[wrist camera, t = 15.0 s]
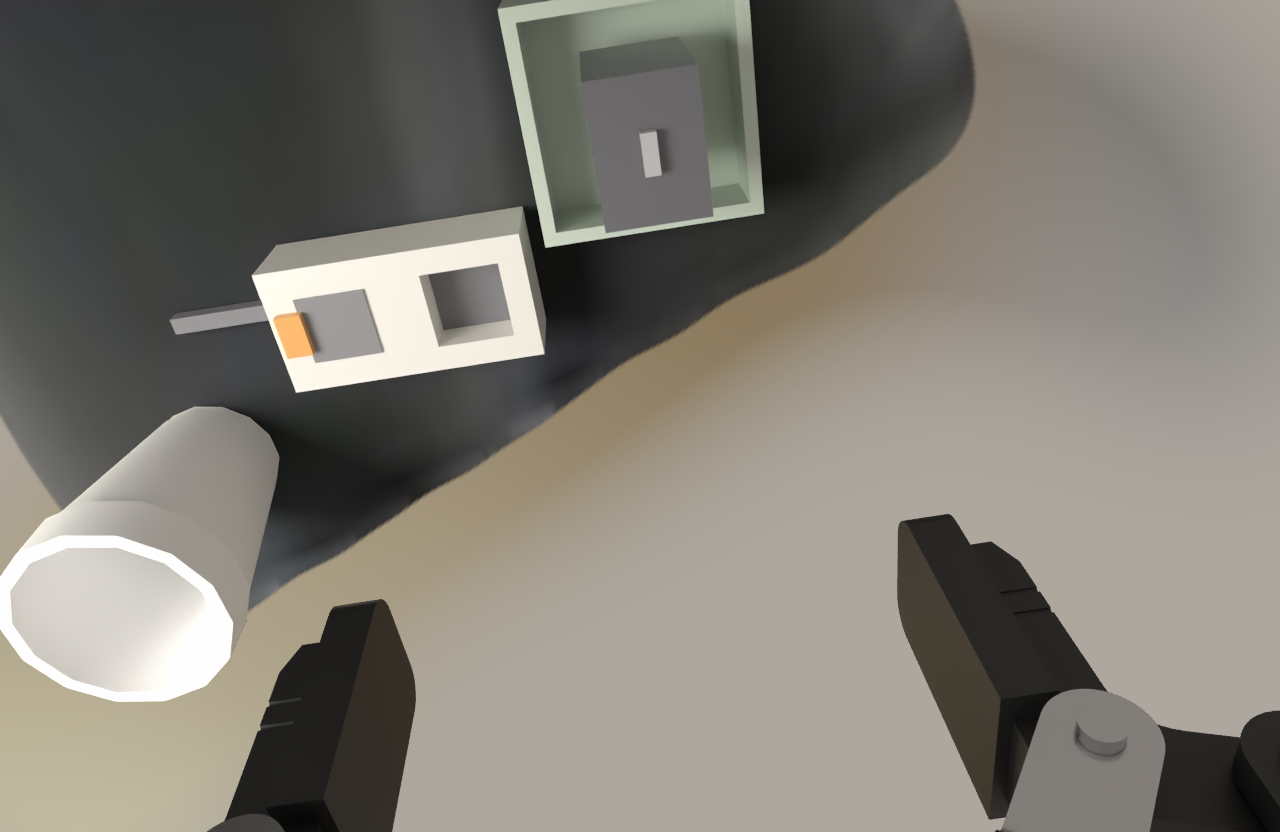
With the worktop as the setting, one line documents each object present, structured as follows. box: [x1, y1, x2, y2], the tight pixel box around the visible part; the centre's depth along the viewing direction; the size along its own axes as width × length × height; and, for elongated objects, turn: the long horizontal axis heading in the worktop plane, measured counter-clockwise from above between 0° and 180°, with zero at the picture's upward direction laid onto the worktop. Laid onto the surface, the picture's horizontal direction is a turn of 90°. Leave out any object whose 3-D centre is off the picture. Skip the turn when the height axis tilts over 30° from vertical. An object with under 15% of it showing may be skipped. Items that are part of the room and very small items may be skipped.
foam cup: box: [0, 407, 279, 702], centre depth 44 cm, size 10×9×13 cm
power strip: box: [170, 206, 546, 393], centre depth 43 cm, size 6×18×4 cm, turn 98°
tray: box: [498, 0, 764, 248], centre depth 40 cm, size 10×10×4 cm
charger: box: [579, 36, 713, 233], centre depth 37 cm, size 6×4×9 cm
